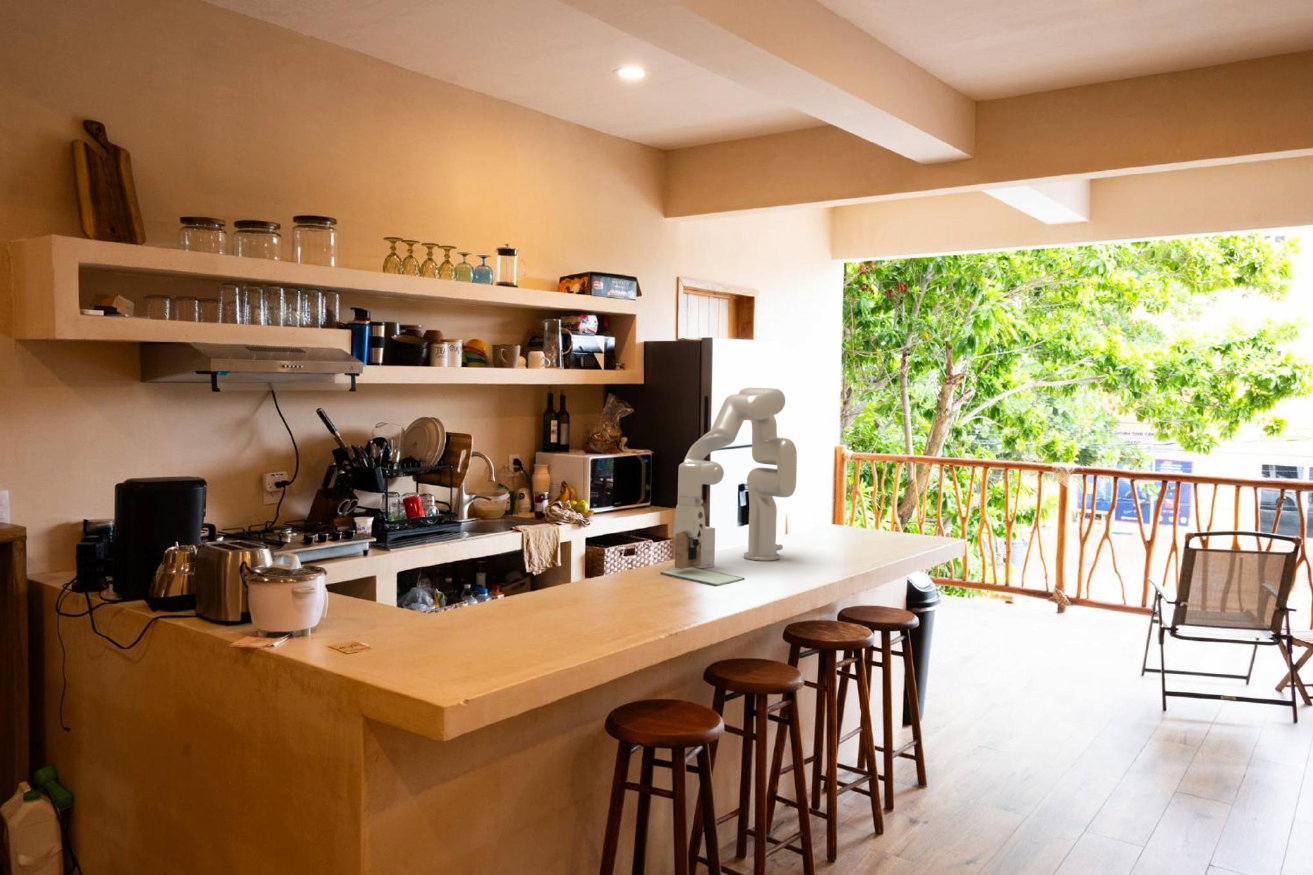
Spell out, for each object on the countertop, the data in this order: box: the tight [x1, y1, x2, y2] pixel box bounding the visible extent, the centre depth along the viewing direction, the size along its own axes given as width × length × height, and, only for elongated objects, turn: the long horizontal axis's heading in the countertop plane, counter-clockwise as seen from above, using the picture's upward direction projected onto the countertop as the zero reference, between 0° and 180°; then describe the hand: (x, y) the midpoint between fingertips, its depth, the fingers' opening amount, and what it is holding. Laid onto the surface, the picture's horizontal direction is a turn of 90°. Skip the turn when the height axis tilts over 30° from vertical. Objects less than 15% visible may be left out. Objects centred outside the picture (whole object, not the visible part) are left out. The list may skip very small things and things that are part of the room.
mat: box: [659, 567, 745, 587], centre depth 304 cm, size 14×23×1 cm, turn 46°
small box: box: [695, 525, 716, 569], centre depth 321 cm, size 8×6×13 cm
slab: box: [674, 533, 701, 569], centre depth 307 cm, size 9×3×11 cm, turn 136°
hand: (688, 558), depth 308 cm, fingers closed on slab, 3 cm apart
